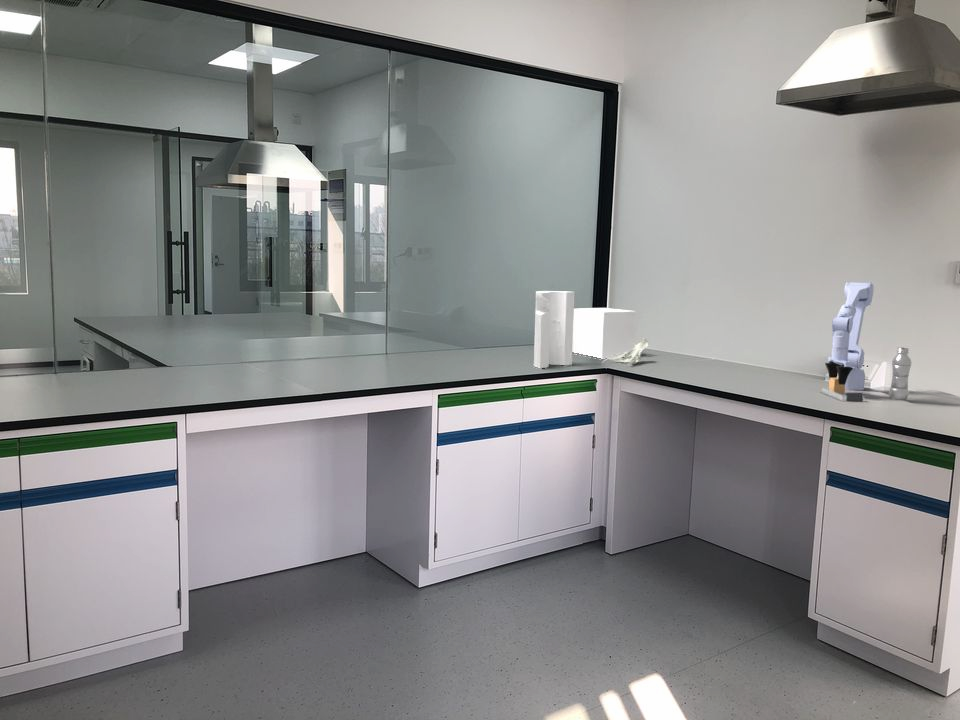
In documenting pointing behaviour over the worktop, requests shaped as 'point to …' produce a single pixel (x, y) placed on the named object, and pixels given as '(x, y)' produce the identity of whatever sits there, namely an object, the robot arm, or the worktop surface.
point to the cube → (603, 331)
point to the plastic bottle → (900, 375)
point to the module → (836, 386)
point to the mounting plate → (843, 395)
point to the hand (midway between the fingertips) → (837, 382)
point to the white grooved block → (553, 328)
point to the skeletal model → (631, 354)
